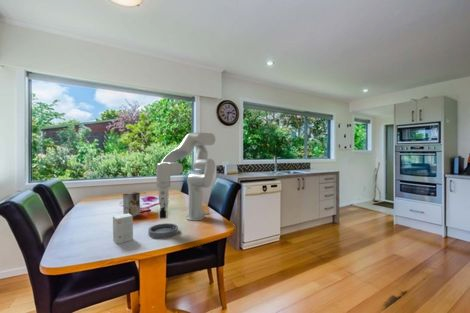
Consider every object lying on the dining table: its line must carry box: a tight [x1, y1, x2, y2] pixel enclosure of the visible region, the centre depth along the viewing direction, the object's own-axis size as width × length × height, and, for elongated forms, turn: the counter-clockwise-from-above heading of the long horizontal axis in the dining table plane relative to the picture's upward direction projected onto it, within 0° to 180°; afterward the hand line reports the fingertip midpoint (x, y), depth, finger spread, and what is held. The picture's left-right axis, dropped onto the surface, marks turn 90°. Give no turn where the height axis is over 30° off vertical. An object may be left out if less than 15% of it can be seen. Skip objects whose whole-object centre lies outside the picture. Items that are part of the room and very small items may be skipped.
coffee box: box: [122, 191, 141, 217], centre depth 162 cm, size 9×6×16 cm
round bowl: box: [147, 222, 179, 240], centre depth 130 cm, size 16×16×3 cm
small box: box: [112, 213, 134, 245], centre depth 119 cm, size 8×6×13 cm
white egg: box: [157, 204, 169, 220], centre depth 129 cm, size 5×5×7 cm
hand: (163, 216), depth 129 cm, fingers closed on white egg, 5 cm apart
